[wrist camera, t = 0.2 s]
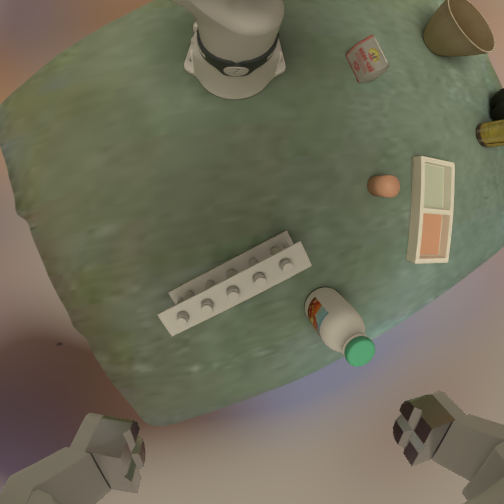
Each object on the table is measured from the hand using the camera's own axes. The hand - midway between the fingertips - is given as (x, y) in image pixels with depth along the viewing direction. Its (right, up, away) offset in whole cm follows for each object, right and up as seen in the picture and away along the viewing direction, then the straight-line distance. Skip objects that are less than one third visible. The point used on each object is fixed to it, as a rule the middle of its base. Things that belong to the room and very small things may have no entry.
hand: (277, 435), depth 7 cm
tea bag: (+21, +43, +42) cm, 63 cm away
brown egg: (+24, +18, +47) cm, 56 cm away
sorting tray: (+38, +14, +49) cm, 63 cm away
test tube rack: (-5, +2, +48) cm, 49 cm away
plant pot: (+44, +57, +41) cm, 83 cm away
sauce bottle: (+58, +35, +46) cm, 82 cm away
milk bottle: (+13, -5, +51) cm, 53 cm away
